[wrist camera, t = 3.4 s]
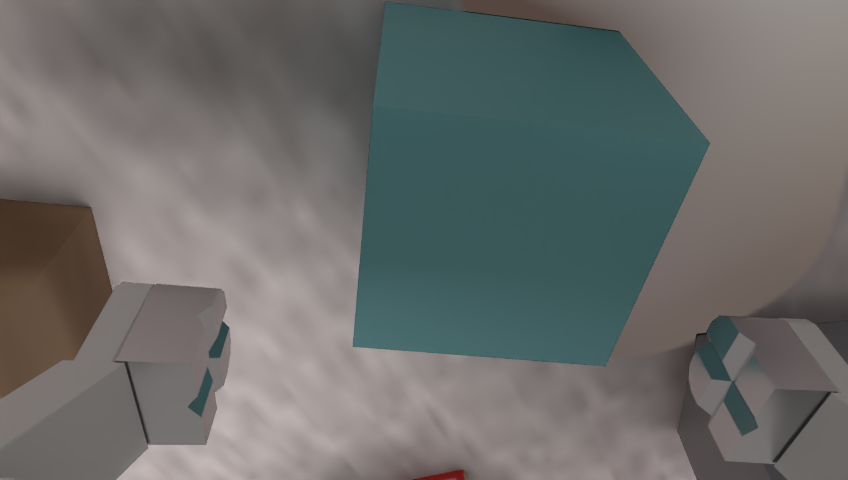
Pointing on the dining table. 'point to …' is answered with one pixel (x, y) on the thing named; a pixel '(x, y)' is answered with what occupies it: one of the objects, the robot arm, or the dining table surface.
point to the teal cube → (514, 186)
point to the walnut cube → (46, 286)
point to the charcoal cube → (698, 442)
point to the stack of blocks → (448, 476)
